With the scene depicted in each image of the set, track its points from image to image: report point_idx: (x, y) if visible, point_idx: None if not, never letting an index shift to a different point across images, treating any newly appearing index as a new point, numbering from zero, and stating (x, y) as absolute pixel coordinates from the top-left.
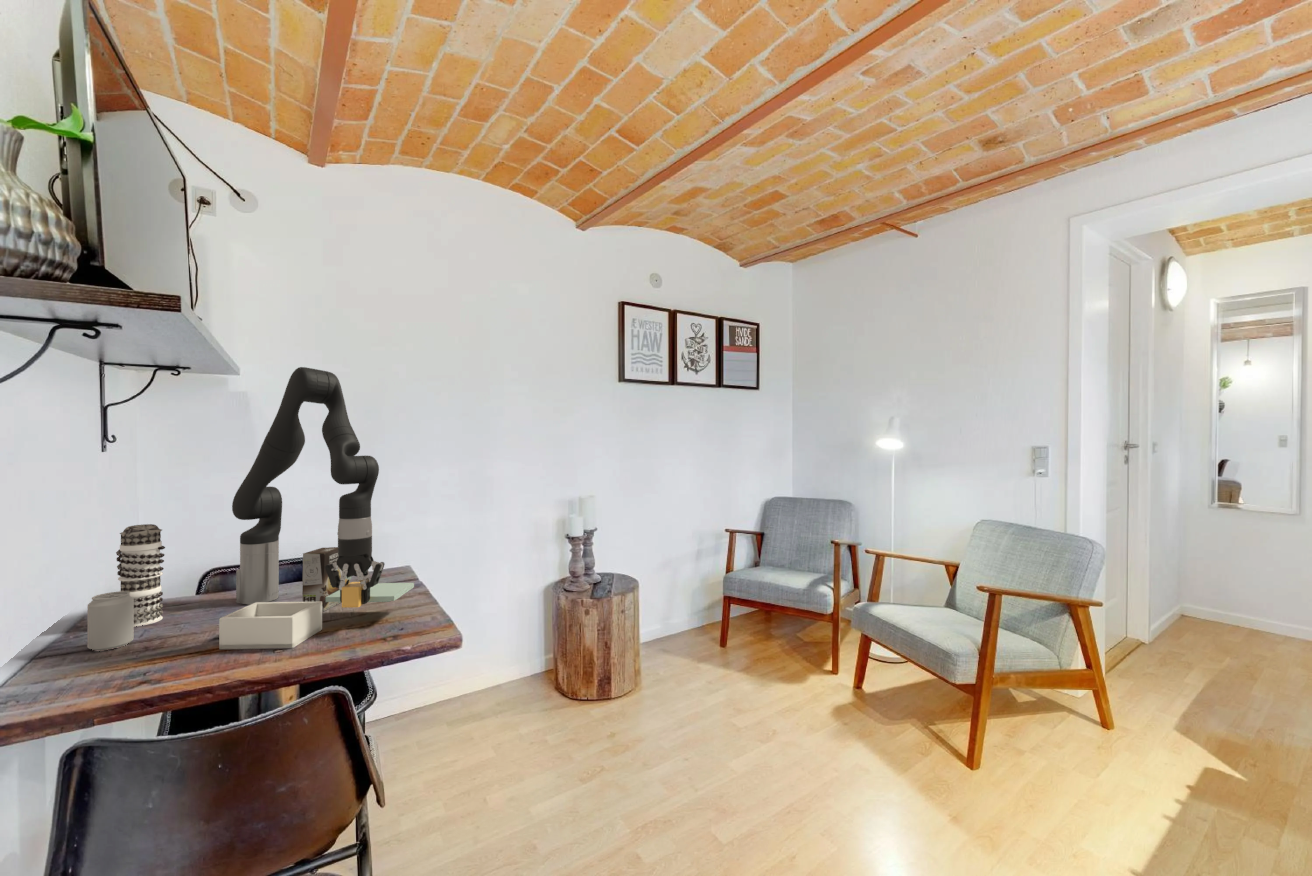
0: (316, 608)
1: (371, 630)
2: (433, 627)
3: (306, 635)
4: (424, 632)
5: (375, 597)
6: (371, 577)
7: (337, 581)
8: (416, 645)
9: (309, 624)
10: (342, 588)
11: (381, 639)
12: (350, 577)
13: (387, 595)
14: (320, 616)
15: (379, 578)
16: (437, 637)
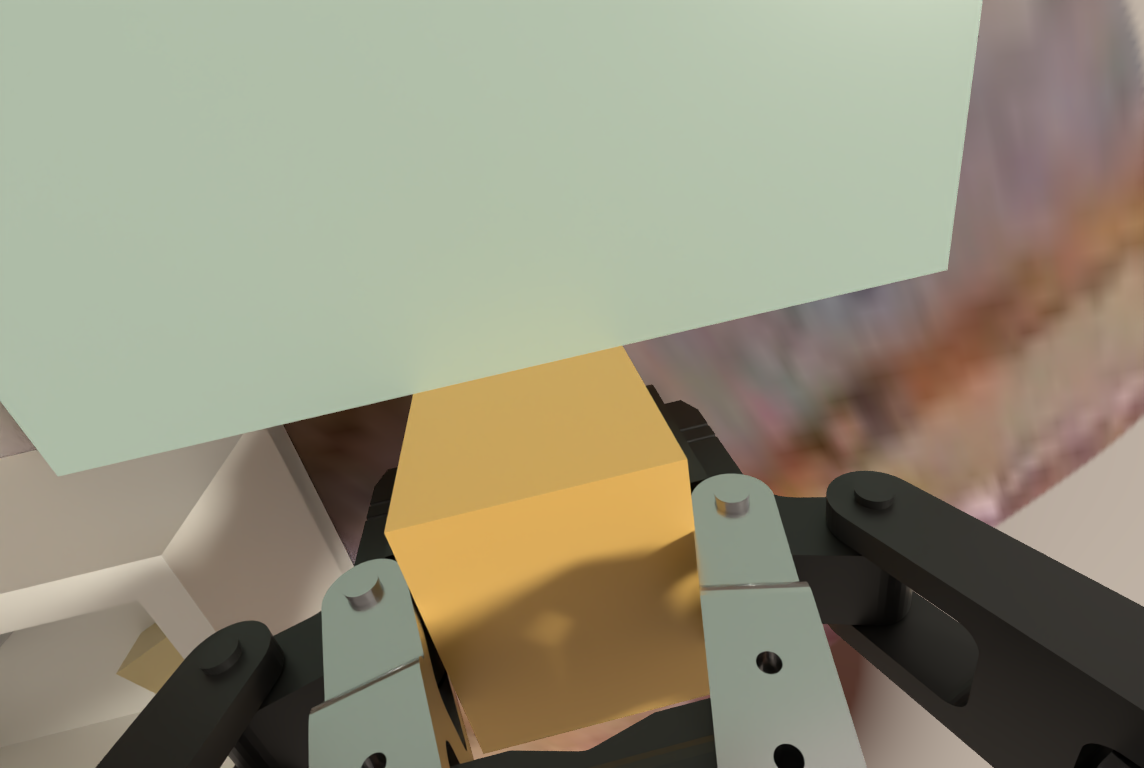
0: (233, 600)
1: (658, 337)
2: (1077, 198)
3: (340, 567)
4: (1030, 302)
5: (712, 321)
6: (946, 725)
7: (260, 751)
8: (1019, 478)
9: (311, 591)
10: (495, 737)
11: (805, 452)
12: (443, 714)
13: (850, 252)
14: (237, 479)
15: (990, 538)
16: (1115, 362)
